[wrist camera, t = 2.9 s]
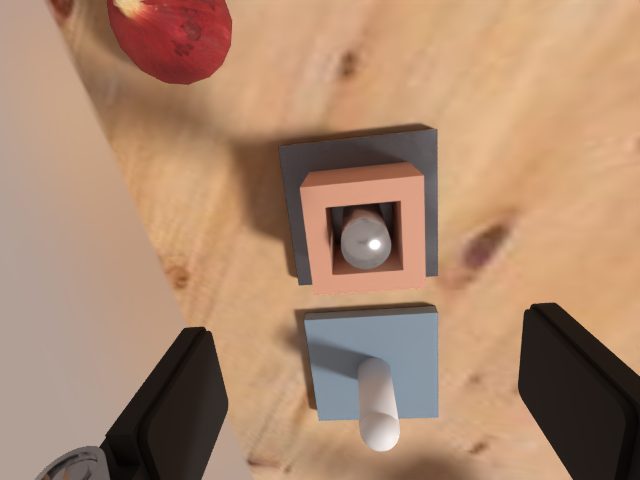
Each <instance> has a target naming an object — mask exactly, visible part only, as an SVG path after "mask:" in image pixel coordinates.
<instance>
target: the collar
mask: <svg viewBox="0 0 640 480" xmlns="http://www.w3.org/2000/svg"><path fill="white" fill-rule="evenodd" d="M300 194H301V201H302V209H303V216H304V224H305V231H306V239H307V246H308V254H309V261H310V269H311V276H312V284H313V291H314V295H326V294H341V293H356V292H372V291H387V290H402V289H418V288H426V267H425V206H424V175H423V174H422V173H421V172H420V171H418V170H417V169H416V168H415V167H414V166H413V165H412V164H410V163H409V162H401V163H392V164H382V165H372V166H363V167H353V168H343V169H333V170H324V171H314V172H309V173H308V175H307V177H306V178H305V180H304V181H303V183H302V185H301V186H300ZM380 202H391V207H392V228H393V240H391V251H390V254H389V256H388V258H387V259H386V260H385V261H384V262H383V263H382V264H381V265H379V266H377V267H375V268H371V269H361V268H357V267H354V266H352V265H351V264H350V263H348V262H347V261H346V259H345V258H344V256H343V254H342V251H341V244H335V237H334V227H333V218H332V208H331V207H337V206H348V205H359V204H370V203H380Z"/></svg>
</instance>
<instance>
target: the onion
mask: <svg viewBox="0 0 640 480" xmlns="http://www.w3.org/2000/svg"><path fill="white" fill-rule="evenodd" d="M107 7H108V13H109V20H110V25H111V28H112V30H113V32H114V34H115V36H116V38H117V41H118V43H119V45H120V47H121V48H122V50H123V51H124V52H125V53H126V54H127V55H128V56H129V57H130V58H131V59H132V61H133V62H134V63H135V64H136V65H137V66H138V67H139V68H140V69H141V70H142V71H144V72H146V73H148V74H149V75H151V76H153V77H155V78H157V79H159V80H161V81H163V82H166V83H170V84H187V85H189V84H191V83H194V82H196V81H199V80H202V79H205V78H208V77H210V76H211V75H212V74H213V73H214V72H215V71H216V70H217V69H218V68H219V67H220V66H222V64H223V62H224V60H225V58H226V55H227V53H228V51H229V48H230V46H231V33H232V19H231V16H230V13H229V10H228V8H227V5H226V2H225V0H107Z"/></svg>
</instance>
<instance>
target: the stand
mask: <svg viewBox="0 0 640 480" xmlns="http://www.w3.org/2000/svg"><path fill="white" fill-rule="evenodd" d="M278 148H279V155H280V162H281V168H282V175H283V182H284V189H285V195H286V202H287V209H288V216H289V222H290V229H291V236H292V243H293V249H294V256H295V263H296V270H297V276H298V283H299V285H313V284H312V276H311V269H310V261H309V254H308V246H307V239H306V231H305V224H304V216H303V209H302V201H301V194H300V186H301V185H302V183H303V181H304V180H305V178H306V177H307V175H308V173H309V172H314V171H324V170H333V169H343V168H353V167H363V166H372V165H382V164H392V163H401V162H409V163H410V164H412V165H413V166H414V167H415V168H416V169H417V170H418V171H420V172H421V173H422V174H423V175H424V206H425V267H426V277H429V276H438V177H437V129H434V128H433V129H424V130H415V131H406V132H397V133H388V134H379V135H370V136H361V137H352V138H343V139H334V140H325V141H316V142H308V143H299V144H290V145H281V146H279V147H278ZM331 208H332V218H333V227H334V237H335V244H341V251H342V254H343V256H344V258H345V259H346V261H347V262H348V263H350V264H351V265H352V266H354V267H357V268H361V269H371V268H375V267H377V266H379V265H381V264H382V263H383V262H384V261H385V260H386V259H387V258H388V256H389V254H390V251H391V240H393V228H392V207H391V202H380V203H370V204H359V205H348V206H337V207H331Z"/></svg>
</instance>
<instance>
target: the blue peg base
mask: <svg viewBox="0 0 640 480" xmlns="http://www.w3.org/2000/svg"><path fill="white" fill-rule="evenodd" d="M304 324H305V330H306V337H307V344H308V350H309V357H310V364H311V371H312V377H313V384H314V391H315V398H316V404H317V411H318V418H319V421H327V420H359V426H360V434H361V437H362V439H363V441H364V442H365V444H366V445H367V446H368V447H370V448H371V449H373V450H375V451H387V450H389V449H391V448H392V447H393V446H394V445H395V444H396V443H397V441H398V439H399V435H400V426H399V420H398V419H400V418H437V417H438V312H437V309H436V307H435V306H422V307H405V308H389V309H372V310H355V311H339V312H322V313H305V318H304Z"/></svg>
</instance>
